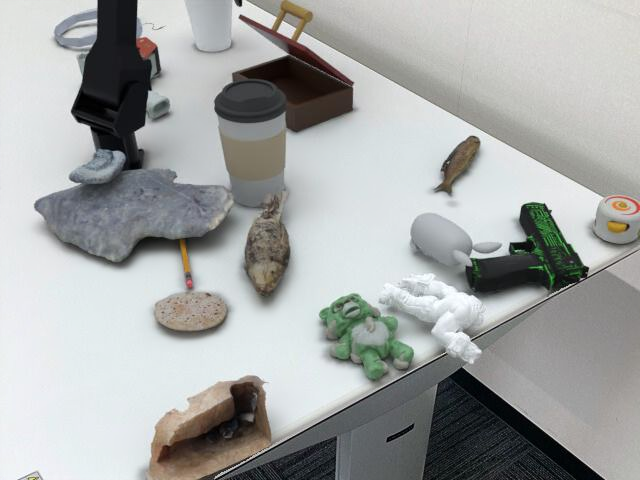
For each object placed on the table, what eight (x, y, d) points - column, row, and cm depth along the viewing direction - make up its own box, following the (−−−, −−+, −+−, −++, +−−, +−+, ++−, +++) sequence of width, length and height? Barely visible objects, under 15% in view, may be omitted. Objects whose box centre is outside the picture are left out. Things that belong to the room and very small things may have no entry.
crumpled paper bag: (143, 478, 69) (133, 403, 65) (254, 433, 76) (250, 364, 72) (174, 506, 65) (165, 428, 61) (287, 457, 72) (284, 384, 69)
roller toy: (659, 207, 93) (626, 185, 97) (619, 220, 91) (587, 198, 95) (649, 237, 96) (618, 215, 100) (610, 251, 94) (580, 227, 98)
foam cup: (246, 50, 138) (239, -26, 129) (197, 58, 135) (187, -19, 126) (229, 32, 144) (221, -42, 135) (182, 39, 141) (171, -35, 133)
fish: (459, 141, 114) (459, 127, 112) (484, 143, 113) (484, 129, 111) (428, 203, 103) (427, 188, 101) (454, 205, 101) (454, 190, 100)
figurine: (367, 340, 82) (475, 374, 79) (370, 306, 78) (483, 340, 75) (399, 283, 88) (499, 312, 85) (403, 248, 84) (507, 278, 82)
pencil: (193, 287, 88) (192, 282, 87) (187, 288, 88) (186, 283, 87) (178, 201, 101) (177, 195, 100) (172, 201, 101) (171, 196, 100)
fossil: (86, 171, 89) (55, 162, 91) (92, 198, 91) (62, 189, 93) (134, 145, 94) (103, 138, 96) (139, 171, 96) (109, 163, 98)
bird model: (227, 278, 82) (244, 313, 85) (279, 265, 81) (294, 300, 84) (239, 184, 98) (252, 216, 101) (282, 171, 97) (295, 204, 100)
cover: (304, 51, 108) (324, 13, 107) (238, 18, 118) (255, -18, 116) (352, 86, 118) (371, 52, 117) (287, 53, 127) (304, 21, 126)
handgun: (477, 306, 86) (600, 292, 88) (480, 285, 84) (606, 272, 86) (437, 228, 97) (547, 218, 100) (440, 208, 95) (552, 198, 98)
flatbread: (233, 300, 87) (233, 292, 87) (218, 338, 81) (217, 330, 81) (164, 292, 88) (163, 285, 87) (143, 330, 82) (142, 322, 81)
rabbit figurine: (394, 243, 93) (458, 288, 85) (407, 204, 91) (474, 247, 83) (431, 243, 97) (495, 286, 89) (443, 206, 95) (511, 246, 87)
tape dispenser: (166, 131, 119) (196, 70, 132) (162, 100, 115) (193, 40, 128) (56, 119, 119) (97, 60, 133) (48, 88, 115) (91, 30, 129)
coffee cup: (218, 182, 105) (204, 77, 95) (280, 171, 107) (274, 67, 97) (234, 217, 99) (221, 108, 88) (300, 204, 101) (295, 96, 91)
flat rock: (248, 189, 102) (70, 174, 104) (244, 157, 98) (58, 142, 100) (216, 283, 91) (17, 264, 93) (209, 251, 87) (2, 232, 89)
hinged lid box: (295, 132, 116) (294, 108, 113) (234, 95, 125) (231, 72, 122) (353, 110, 121) (353, 87, 119) (289, 76, 130) (289, 54, 128)
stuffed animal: (367, 391, 76) (368, 361, 73) (301, 326, 83) (300, 297, 80) (428, 359, 80) (431, 329, 77) (359, 300, 87) (360, 271, 84)
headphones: (160, 9, 150) (60, 36, 147) (150, -21, 145) (47, 7, 143) (172, 42, 137) (63, 72, 135) (161, 10, 133) (49, 41, 131)
